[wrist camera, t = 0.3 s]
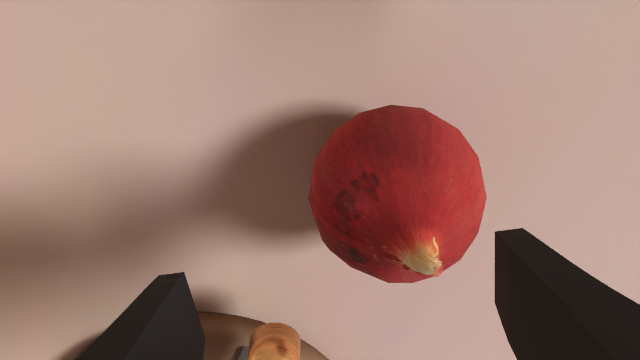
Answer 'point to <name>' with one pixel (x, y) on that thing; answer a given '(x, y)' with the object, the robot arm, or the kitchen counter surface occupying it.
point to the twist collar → (274, 343)
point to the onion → (398, 194)
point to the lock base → (235, 338)
